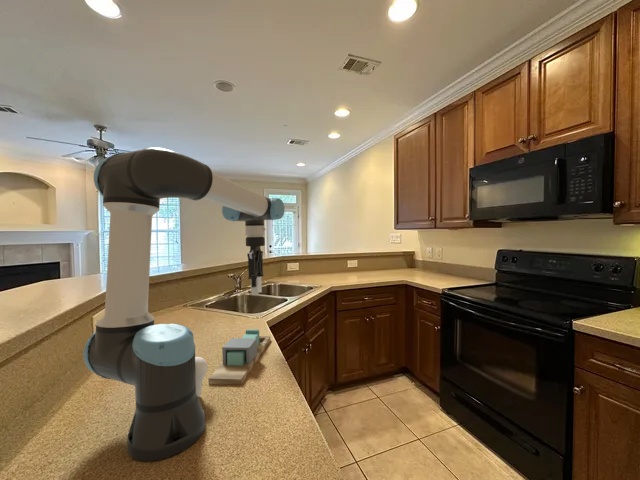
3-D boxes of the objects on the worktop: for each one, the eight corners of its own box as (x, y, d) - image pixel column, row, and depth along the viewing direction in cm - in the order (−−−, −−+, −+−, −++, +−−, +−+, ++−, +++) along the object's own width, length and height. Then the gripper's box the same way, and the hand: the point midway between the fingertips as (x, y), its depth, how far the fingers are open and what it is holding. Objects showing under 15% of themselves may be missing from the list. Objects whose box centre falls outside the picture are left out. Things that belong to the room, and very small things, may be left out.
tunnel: (249, 364, 92) (249, 347, 92) (222, 364, 93) (222, 347, 92) (256, 354, 100) (256, 338, 100) (232, 353, 101) (231, 338, 100)
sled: (242, 365, 91) (242, 349, 91) (227, 365, 91) (227, 349, 91) (259, 342, 110) (259, 329, 110) (247, 342, 110) (246, 329, 110)
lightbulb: (212, 397, 77) (211, 357, 77) (189, 407, 72) (188, 365, 72) (202, 388, 81) (201, 351, 81) (180, 398, 77) (178, 358, 76)
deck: (241, 384, 83) (241, 379, 83) (208, 383, 84) (208, 378, 84) (270, 340, 117) (270, 336, 117) (246, 340, 118) (246, 336, 118)
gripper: (257, 236, 106) (259, 298, 107) (269, 235, 123) (270, 289, 124) (238, 237, 107) (240, 298, 107) (252, 236, 124) (254, 289, 125)
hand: (256, 293), depth 116 cm, fingers open, 4 cm apart
